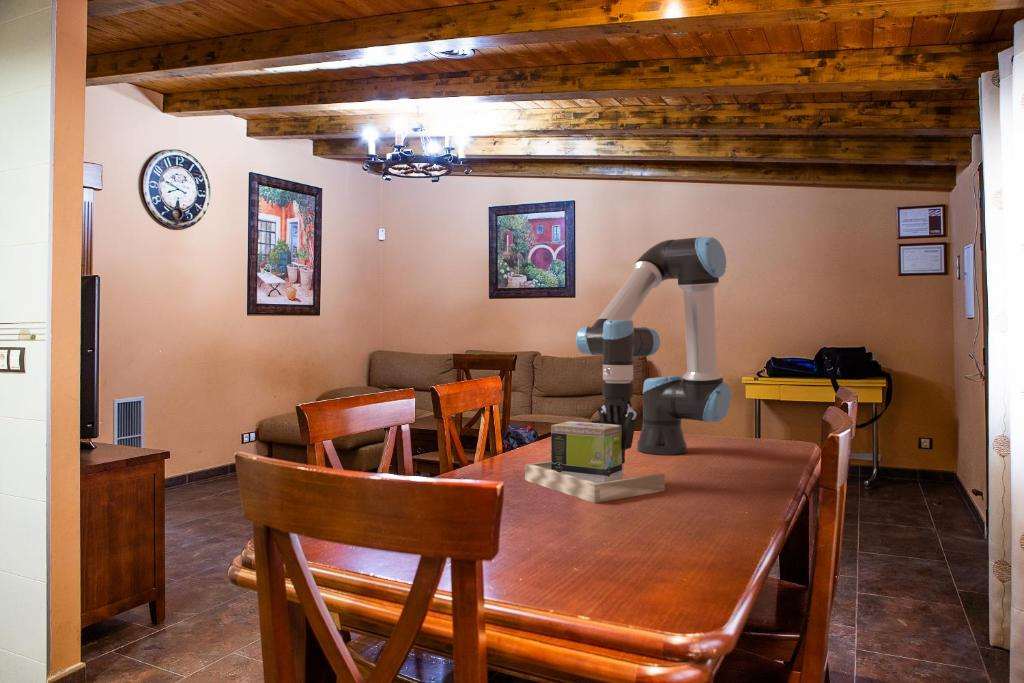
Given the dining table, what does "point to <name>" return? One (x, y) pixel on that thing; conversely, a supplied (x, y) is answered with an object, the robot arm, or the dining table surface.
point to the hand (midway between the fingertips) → (617, 475)
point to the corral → (593, 484)
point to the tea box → (587, 450)
